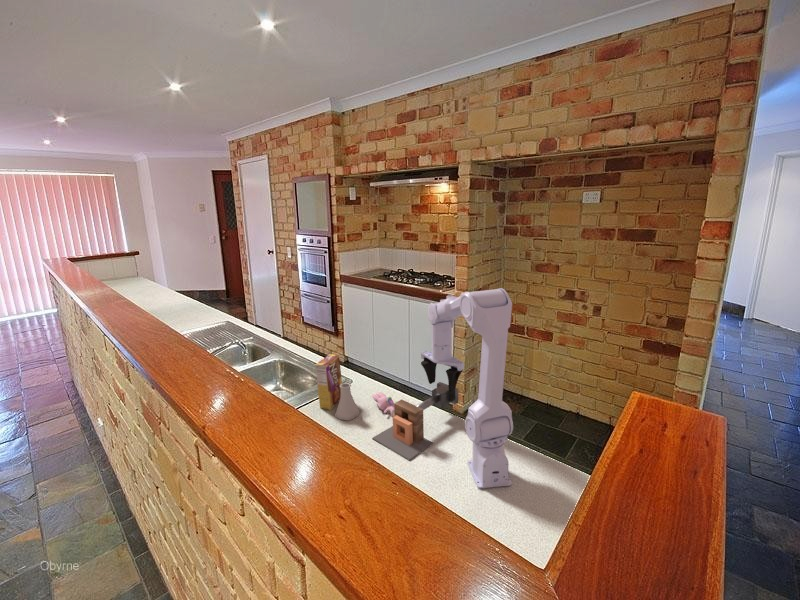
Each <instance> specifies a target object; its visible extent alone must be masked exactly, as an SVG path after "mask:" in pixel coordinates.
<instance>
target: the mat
mask: <svg viewBox="0 0 800 600" xmlns="http://www.w3.org/2000/svg"><path fill="white" fill-rule="evenodd" d="M371 439H372V440H373V441H375V442H377V443H378V444H380V445H381V446H384V447H385V448H387V449H388V450H390V451H392V452H394V453H395V454H397V455H398V456H400V457H402V458H403V459H405V460H407V461H411V460H412V459H414V458H416V457H417V456H418V455H420V454H421V453H423V452H424V451H425V450H427V449H428V448H430V447H431V446H433V445H434V442H433V441H431V440H429V439H427V438H425V437H424V439H423V440H422V441H420V442H419V443H417V444H415V443H412V444H411V445H407V444H406V443H404V442H402V441H400V440H398V439H396V438H395V437H393V425H392V426H390V427H388V428H386V429H385V430H384V431H382V432H379V433H377V434H376V435H375V436H373V437H372V438H371Z"/></svg>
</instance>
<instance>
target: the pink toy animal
mask: <svg viewBox="0 0 800 600" xmlns="http://www.w3.org/2000/svg"><path fill="white" fill-rule="evenodd" d="M371 397H372V398H373V400H374V401H375V402H376V403H377V404H378V408H379V409H380V410H381V411H383V413H384V414H387V412H388V413H390V415H391V416H390V417H391V418H392V419H393V417H394V416H395V411H394V403H395V401H394V400H393V398H392V397H391V396H387V395H386V394H385V393H384V392H375V394H371Z"/></svg>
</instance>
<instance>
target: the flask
mask: <svg viewBox="0 0 800 600" xmlns="http://www.w3.org/2000/svg"><path fill="white" fill-rule="evenodd" d="M351 386H352V384H350V383H349V382H344V383H343V382H342V384H341V385H340V388H341V398H340V401H339V403H338V406H337V409H336V412H335V415H334V416H335V418H337V419H339V420H342V421H351V420H353V419H355V418H357V417H358V416H359V414H360V410H359V408H358V406H357V403H356V402H355V399H354V398H353V395H352V391H351Z"/></svg>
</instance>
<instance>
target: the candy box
mask: <svg viewBox="0 0 800 600" xmlns="http://www.w3.org/2000/svg"><path fill="white" fill-rule="evenodd" d="M315 373H316V376H315V377H316V383H317V385H316V386H317V392H318V393H317V394H318V400H319V408H320V409H325V410H332V409H333V408H334V407H335V406H336V405H337V404H339V403H338V402H339V401H340V398H341V388H340V385H341V384H343V380H342V371H341V362H340V355H339V354H328V355H326V356H325V357H324V358H322V359H321V360H319V361H318V362H317V363H315Z"/></svg>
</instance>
